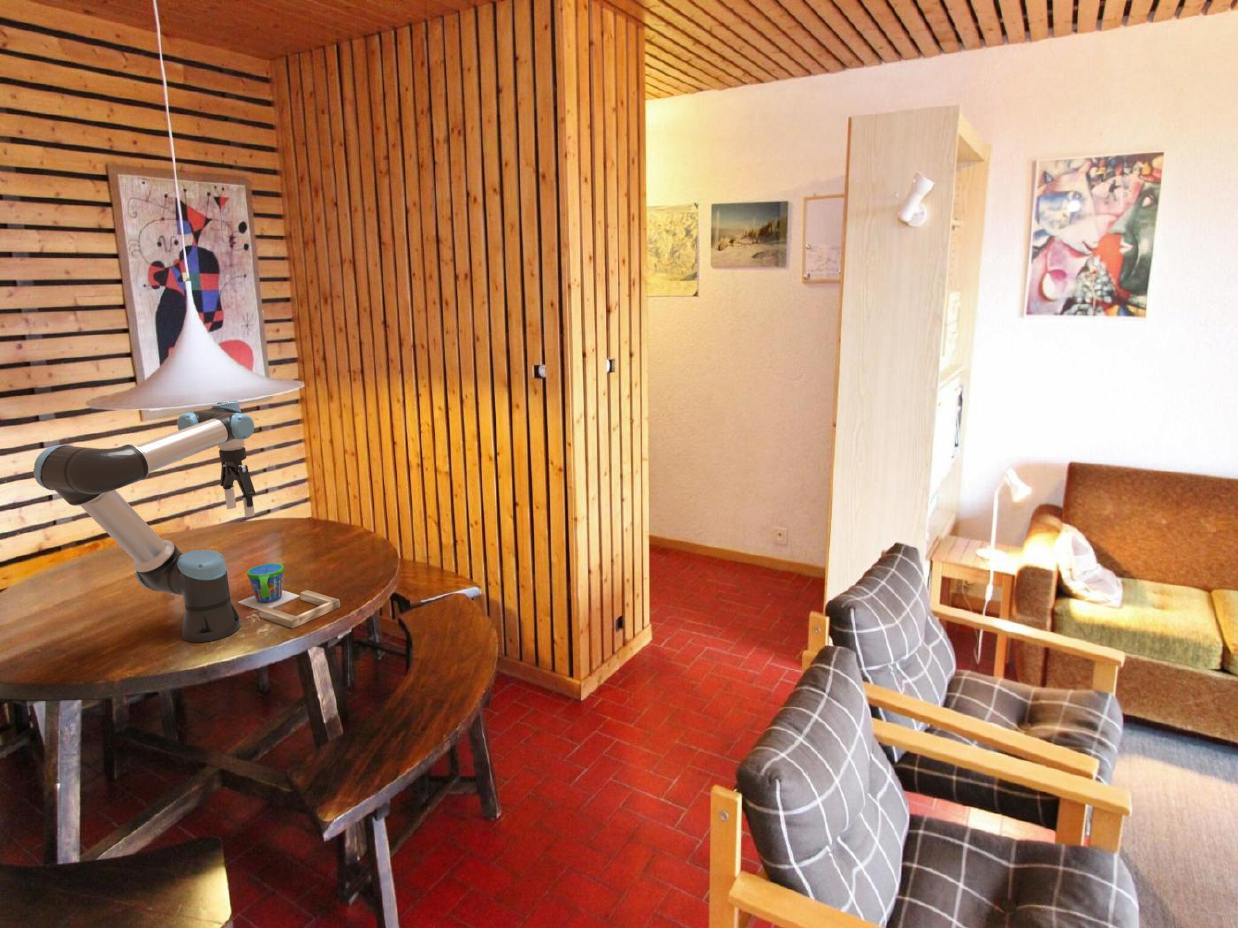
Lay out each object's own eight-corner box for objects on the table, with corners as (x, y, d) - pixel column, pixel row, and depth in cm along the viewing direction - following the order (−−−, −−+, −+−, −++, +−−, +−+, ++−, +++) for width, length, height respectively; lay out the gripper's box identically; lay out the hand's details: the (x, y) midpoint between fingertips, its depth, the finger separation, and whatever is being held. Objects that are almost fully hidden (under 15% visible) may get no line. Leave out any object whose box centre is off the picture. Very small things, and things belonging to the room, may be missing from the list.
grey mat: (263, 611, 231) (263, 610, 231) (237, 603, 238) (237, 601, 238) (300, 596, 242) (299, 595, 242) (274, 588, 249) (274, 587, 248)
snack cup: (257, 590, 246) (253, 561, 244) (291, 587, 248) (287, 558, 246) (245, 610, 231) (241, 579, 229) (282, 606, 234) (278, 576, 231)
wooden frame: (292, 628, 220) (291, 620, 219) (259, 617, 227) (258, 609, 227) (340, 607, 234) (339, 599, 233) (307, 597, 242) (306, 589, 241)
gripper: (261, 451, 232) (270, 516, 237) (227, 440, 247) (235, 502, 252) (236, 455, 226) (245, 522, 231) (203, 444, 242) (212, 507, 247)
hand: (240, 512), depth 242 cm, fingers open, 13 cm apart
